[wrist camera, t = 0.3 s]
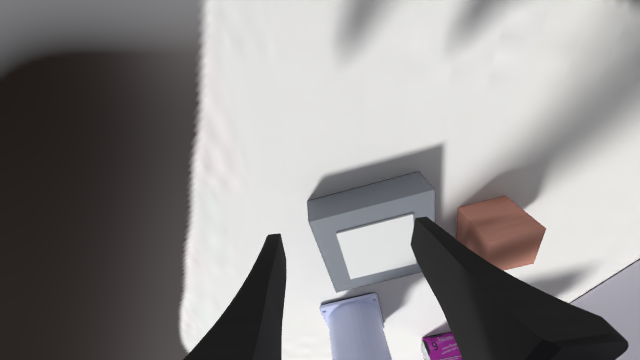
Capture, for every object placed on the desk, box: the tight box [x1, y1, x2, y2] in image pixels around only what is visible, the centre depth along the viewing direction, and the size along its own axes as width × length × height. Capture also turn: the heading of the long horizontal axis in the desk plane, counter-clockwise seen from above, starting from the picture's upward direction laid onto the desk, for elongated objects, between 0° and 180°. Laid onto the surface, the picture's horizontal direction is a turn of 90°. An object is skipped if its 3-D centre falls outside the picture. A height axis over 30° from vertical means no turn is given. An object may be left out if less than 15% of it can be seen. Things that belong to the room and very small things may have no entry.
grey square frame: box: [307, 172, 435, 292], centre depth 25 cm, size 11×11×3 cm
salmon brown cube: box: [456, 196, 546, 270], centre depth 25 cm, size 5×5×5 cm
